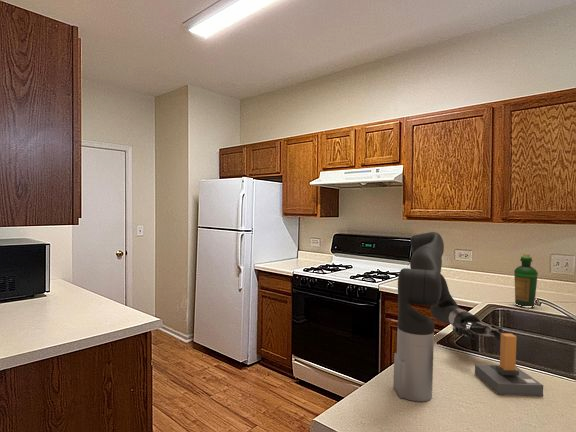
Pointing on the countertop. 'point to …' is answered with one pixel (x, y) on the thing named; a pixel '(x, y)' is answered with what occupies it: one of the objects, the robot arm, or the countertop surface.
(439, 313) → the robot arm
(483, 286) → the countertop surface
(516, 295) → the bottle
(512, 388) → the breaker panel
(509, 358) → the handle
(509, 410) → the countertop surface
